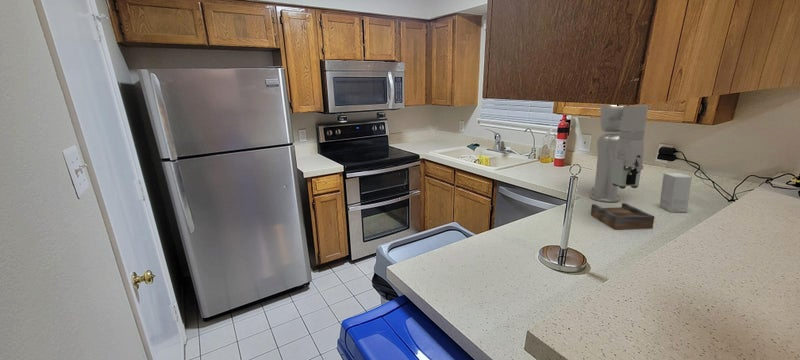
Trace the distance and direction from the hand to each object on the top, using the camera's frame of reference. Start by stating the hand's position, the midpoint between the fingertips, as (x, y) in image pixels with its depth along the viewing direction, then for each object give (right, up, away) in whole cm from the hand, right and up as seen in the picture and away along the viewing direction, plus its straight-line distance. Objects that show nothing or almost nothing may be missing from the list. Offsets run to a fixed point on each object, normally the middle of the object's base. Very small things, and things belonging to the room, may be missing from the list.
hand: (625, 182), depth 124 cm
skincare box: (+31, -12, +15) cm, 36 cm away
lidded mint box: (0, -2, 0) cm, 2 cm away
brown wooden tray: (+1, -16, +4) cm, 16 cm away
